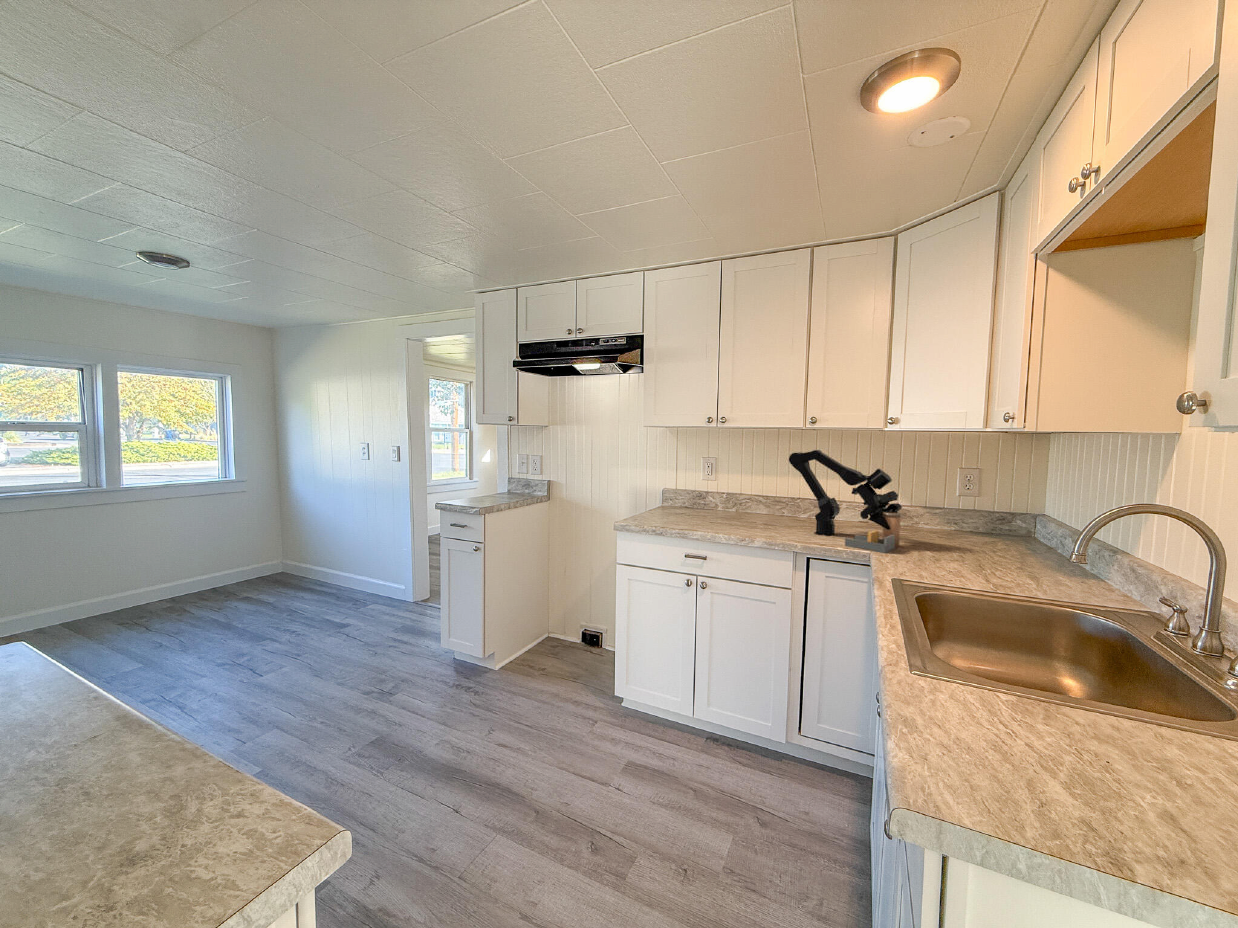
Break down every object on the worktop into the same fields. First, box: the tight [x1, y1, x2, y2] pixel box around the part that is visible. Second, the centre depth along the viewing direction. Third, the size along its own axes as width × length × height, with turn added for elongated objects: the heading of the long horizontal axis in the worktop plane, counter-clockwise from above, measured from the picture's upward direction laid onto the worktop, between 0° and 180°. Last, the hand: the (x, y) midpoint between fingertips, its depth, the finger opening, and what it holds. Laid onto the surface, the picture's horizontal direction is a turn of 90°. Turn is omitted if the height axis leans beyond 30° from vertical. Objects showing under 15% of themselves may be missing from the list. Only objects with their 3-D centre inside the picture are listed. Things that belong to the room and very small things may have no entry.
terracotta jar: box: [881, 512, 902, 549], centre depth 190 cm, size 6×6×13 cm
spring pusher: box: [867, 529, 880, 543], centre depth 187 cm, size 1×8×6 cm, turn 133°
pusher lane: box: [844, 534, 896, 554], centre depth 188 cm, size 15×10×6 cm
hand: (894, 528), depth 189 cm, fingers closed on terracotta jar, 6 cm apart
